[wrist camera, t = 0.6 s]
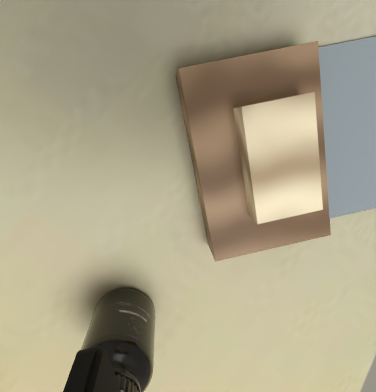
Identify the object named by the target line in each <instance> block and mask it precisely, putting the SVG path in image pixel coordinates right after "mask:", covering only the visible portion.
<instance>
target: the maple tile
mask: <svg viewBox="0 0 376 392" xmlns="http://www.w3.org/2000/svg"><path fill="white" fill-rule="evenodd" d="M233 110H234V117H235V124H236V131H237V137H238V144H239V151H240V158H241V165H242V172H243V179H244V185H245V192H246V199H247V206H248V213H249V216H250V217H251V218H252V219H253V220H254V221H255V222H256V223H257V224H261V223H266V222H270V221H275V220H279V219H284V218H288V217H292V216H297V215H301V214H306V213H310V212H315V211H319V210H323V203H322V189H321V175H320V160H319V146H318V132H317V118H316V104H315V92H312V93H307V94H302V95H297V96H292V97H287V98H282V99H277V100H272V101H267V102H262V103H257V104H252V105H247V106H243V107H238V108H233Z"/></svg>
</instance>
